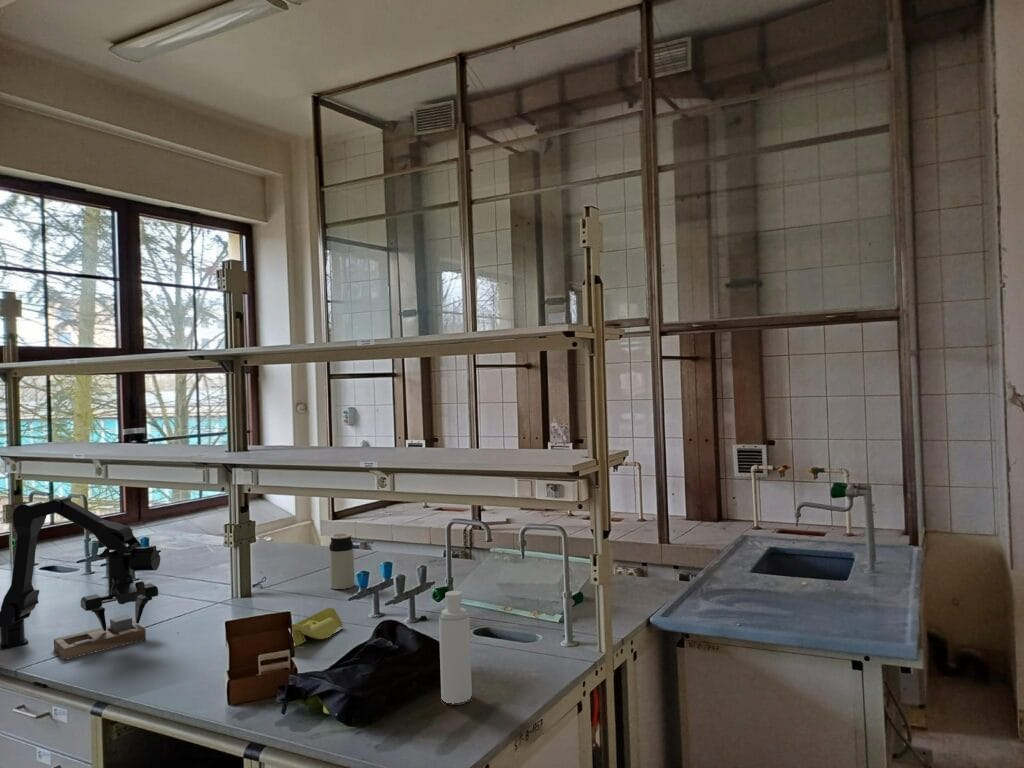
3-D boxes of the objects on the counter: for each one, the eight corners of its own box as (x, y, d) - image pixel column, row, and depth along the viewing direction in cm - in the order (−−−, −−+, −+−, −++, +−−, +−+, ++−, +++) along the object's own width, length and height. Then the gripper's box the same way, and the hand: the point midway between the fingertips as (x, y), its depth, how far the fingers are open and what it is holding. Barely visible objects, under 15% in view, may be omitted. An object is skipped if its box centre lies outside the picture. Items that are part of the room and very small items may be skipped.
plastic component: (307, 618, 214) (335, 604, 212) (317, 641, 213) (345, 628, 211) (268, 636, 195) (298, 621, 193) (279, 662, 193) (309, 647, 191)
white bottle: (464, 690, 165) (460, 579, 165) (477, 701, 159) (473, 586, 159) (436, 697, 162) (433, 584, 162) (448, 708, 156) (445, 591, 156)
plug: (110, 640, 207) (109, 618, 207) (127, 635, 210) (126, 614, 210) (115, 643, 204) (115, 622, 204) (132, 639, 207) (132, 618, 207)
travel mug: (333, 591, 248) (331, 538, 248) (328, 585, 256) (327, 534, 255) (356, 588, 252) (355, 535, 251) (351, 582, 259) (350, 531, 259)
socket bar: (54, 649, 200) (53, 637, 200) (133, 630, 214) (132, 619, 214) (64, 660, 192) (63, 647, 192) (145, 639, 206) (145, 627, 206)
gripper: (90, 583, 194) (92, 642, 194) (164, 569, 207) (166, 624, 207) (79, 576, 202) (81, 633, 202) (151, 563, 215) (152, 616, 215)
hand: (121, 627), depth 207 cm, fingers open, 8 cm apart
